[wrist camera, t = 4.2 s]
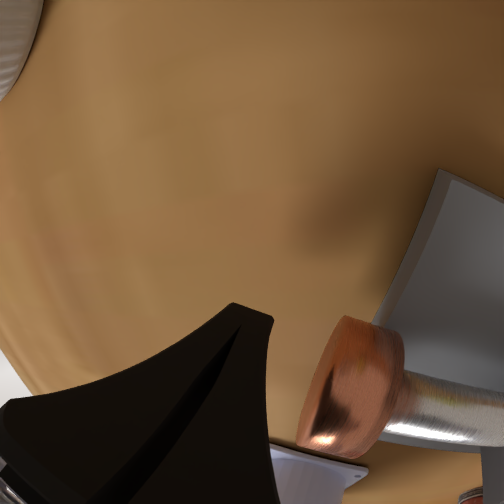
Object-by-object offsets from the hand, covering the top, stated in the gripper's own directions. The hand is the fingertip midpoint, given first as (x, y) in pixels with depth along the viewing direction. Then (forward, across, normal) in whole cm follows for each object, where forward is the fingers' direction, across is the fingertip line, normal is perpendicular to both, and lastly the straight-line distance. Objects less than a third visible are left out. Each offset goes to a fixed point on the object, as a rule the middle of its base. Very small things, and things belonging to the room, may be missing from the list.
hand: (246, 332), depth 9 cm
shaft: (+1, -12, 0) cm, 12 cm away
